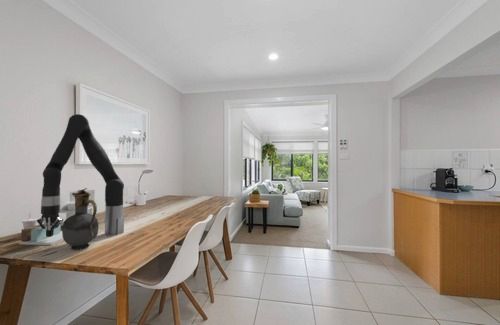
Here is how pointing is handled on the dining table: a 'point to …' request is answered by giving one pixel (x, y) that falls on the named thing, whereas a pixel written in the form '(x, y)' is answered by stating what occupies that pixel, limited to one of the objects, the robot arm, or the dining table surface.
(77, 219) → the pitcher
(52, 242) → the board
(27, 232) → the arm
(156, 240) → the dining table surface
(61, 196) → the architectural model
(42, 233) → the arm
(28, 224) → the smoothie
